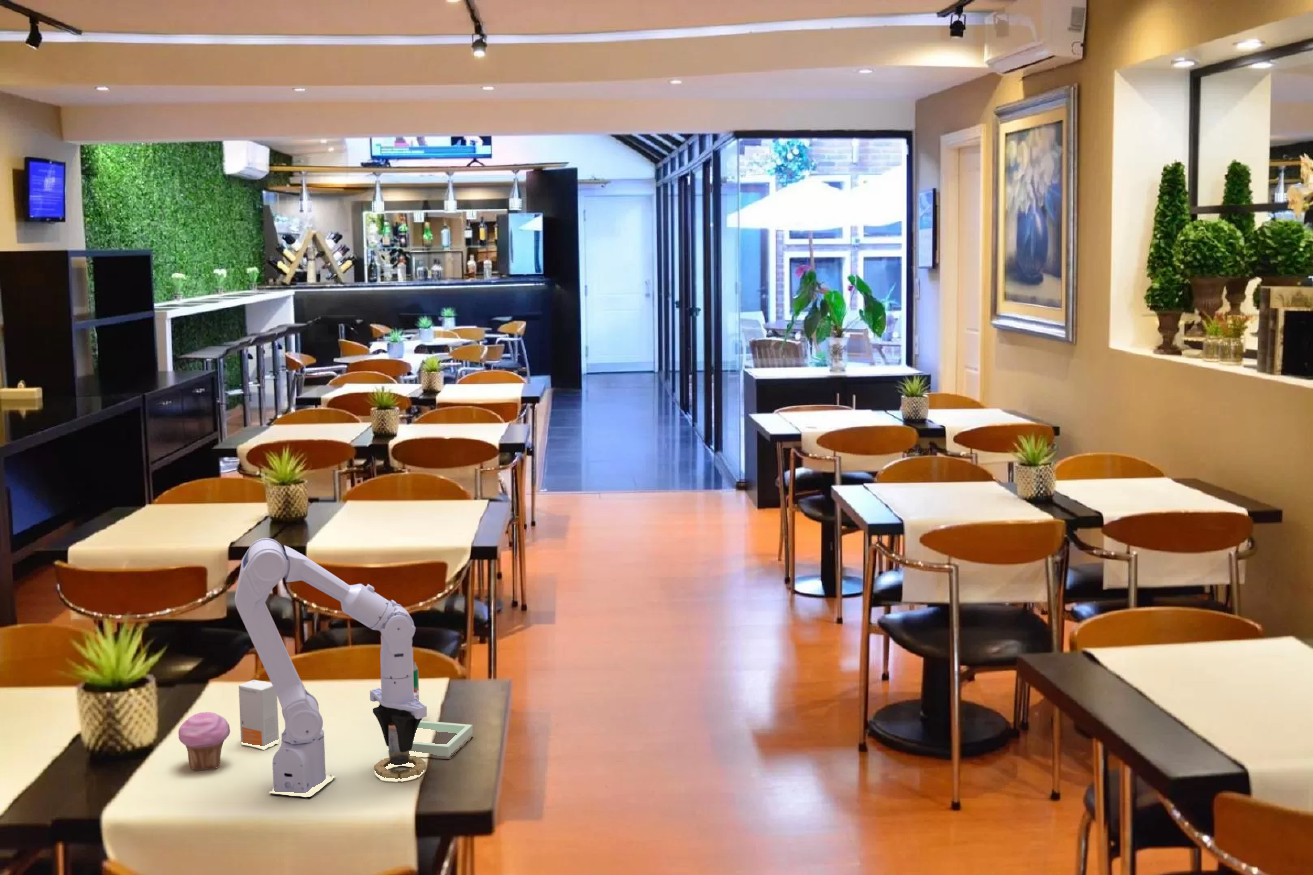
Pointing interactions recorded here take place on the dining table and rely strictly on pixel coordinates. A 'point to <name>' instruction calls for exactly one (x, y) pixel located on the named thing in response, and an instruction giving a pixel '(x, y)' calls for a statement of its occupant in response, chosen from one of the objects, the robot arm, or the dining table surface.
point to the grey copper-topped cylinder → (396, 747)
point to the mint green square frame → (443, 749)
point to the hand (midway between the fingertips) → (398, 747)
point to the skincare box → (258, 713)
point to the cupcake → (204, 739)
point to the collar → (416, 770)
